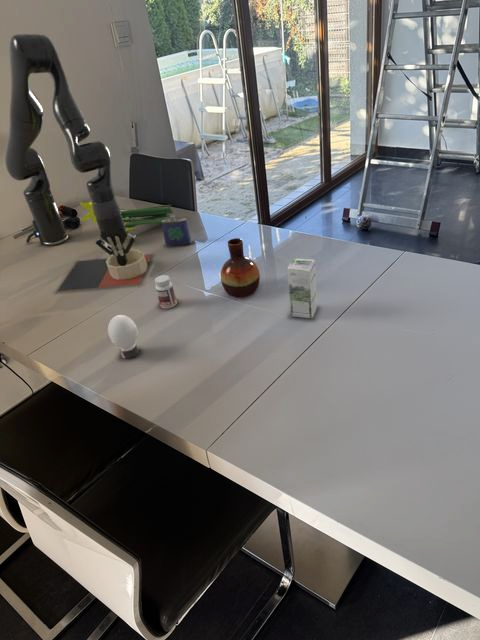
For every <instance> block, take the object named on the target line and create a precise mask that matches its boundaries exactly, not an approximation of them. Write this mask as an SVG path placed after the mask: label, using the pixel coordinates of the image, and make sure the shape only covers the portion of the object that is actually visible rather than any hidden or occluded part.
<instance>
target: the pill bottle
mask: <svg viewBox="0 0 480 640" xmlns="http://www.w3.org/2000/svg"><path fill="white" fill-rule="evenodd" d="M154 283H155V291H156V295H157V297H158V302H159V305H160V307H161V308H162V309H171V308H173V307H176V305H177V304H178V302H177V297H176V294H175V289H174V286H173V283H172V282H171V279H170V276H169V275H166V274H162V275H159V276H157V277H155V278H154Z"/></svg>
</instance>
